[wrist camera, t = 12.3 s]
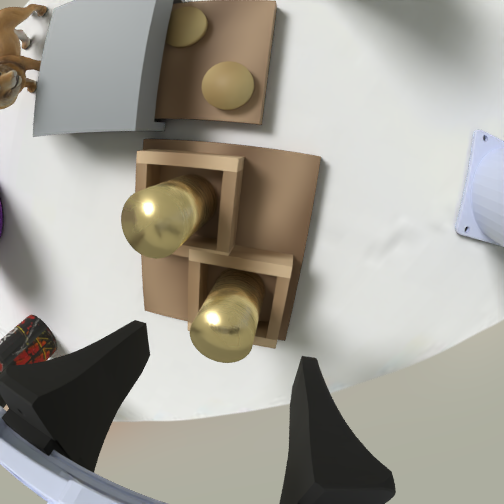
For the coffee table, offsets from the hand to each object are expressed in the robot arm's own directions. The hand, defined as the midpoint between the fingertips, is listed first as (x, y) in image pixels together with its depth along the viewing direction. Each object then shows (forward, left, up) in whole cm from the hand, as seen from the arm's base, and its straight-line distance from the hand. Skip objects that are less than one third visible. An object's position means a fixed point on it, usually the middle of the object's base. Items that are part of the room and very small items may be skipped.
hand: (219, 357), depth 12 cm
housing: (+12, -15, -10) cm, 21 cm away
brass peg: (+1, +2, -9) cm, 9 cm away
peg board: (+3, -2, -10) cm, 10 cm away
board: (+5, -15, -10) cm, 18 cm away
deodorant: (+27, +15, -10) cm, 32 cm away
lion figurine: (+23, -18, -10) cm, 31 cm away
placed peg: (+5, -5, -9) cm, 11 cm away
